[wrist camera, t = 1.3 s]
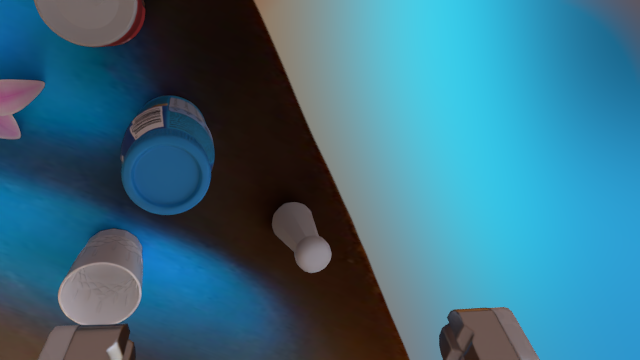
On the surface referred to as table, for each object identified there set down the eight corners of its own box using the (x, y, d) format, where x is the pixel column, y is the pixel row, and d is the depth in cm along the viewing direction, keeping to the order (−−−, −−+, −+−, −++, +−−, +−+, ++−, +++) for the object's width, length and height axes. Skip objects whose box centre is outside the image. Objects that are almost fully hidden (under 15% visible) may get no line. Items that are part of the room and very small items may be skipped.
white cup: (110, 290, 54) (96, 340, 45) (64, 249, 50) (39, 295, 41) (160, 254, 54) (157, 296, 45) (118, 211, 51) (105, 248, 42)
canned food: (159, -3, 45) (153, -15, 35) (124, 60, 46) (109, 65, 36) (88, -50, 42) (59, -78, 32) (51, 19, 43) (13, 12, 33)
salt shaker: (260, 216, 57) (281, 261, 45) (290, 188, 57) (318, 226, 46) (287, 241, 60) (313, 290, 48) (315, 214, 60) (349, 256, 48)
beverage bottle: (213, 102, 51) (232, 135, 32) (200, 167, 52) (211, 232, 34) (139, 85, 47) (115, 112, 29) (128, 155, 49) (100, 220, 31)
